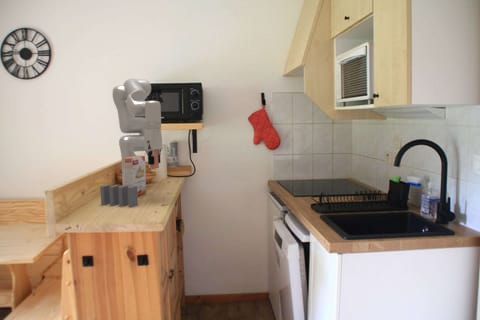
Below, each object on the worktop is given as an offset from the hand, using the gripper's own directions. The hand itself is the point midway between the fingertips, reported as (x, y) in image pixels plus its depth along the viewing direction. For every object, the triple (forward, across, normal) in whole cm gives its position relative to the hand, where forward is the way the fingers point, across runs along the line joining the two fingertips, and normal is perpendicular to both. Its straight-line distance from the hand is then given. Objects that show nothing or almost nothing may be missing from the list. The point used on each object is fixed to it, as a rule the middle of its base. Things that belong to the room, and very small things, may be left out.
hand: (154, 163), depth 179 cm
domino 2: (+19, +12, -15) cm, 27 cm away
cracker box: (+19, -10, -18) cm, 28 cm away
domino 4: (+19, +12, -5) cm, 23 cm away
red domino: (+3, 0, 0) cm, 3 cm away
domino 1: (+19, +12, -20) cm, 30 cm away
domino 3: (+19, +12, -10) cm, 25 cm away
